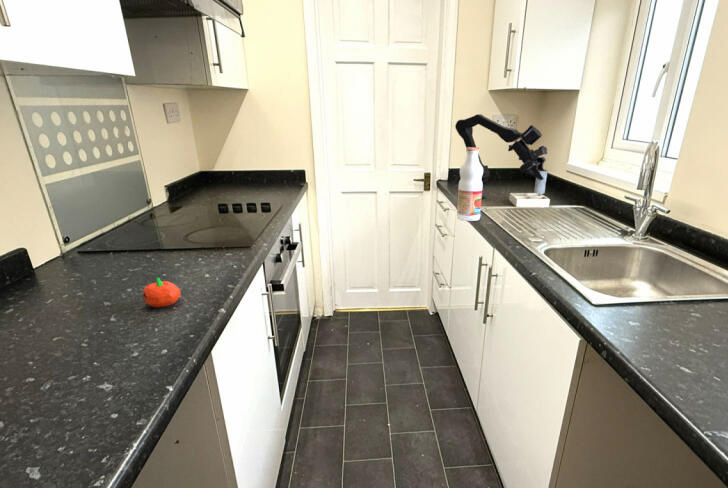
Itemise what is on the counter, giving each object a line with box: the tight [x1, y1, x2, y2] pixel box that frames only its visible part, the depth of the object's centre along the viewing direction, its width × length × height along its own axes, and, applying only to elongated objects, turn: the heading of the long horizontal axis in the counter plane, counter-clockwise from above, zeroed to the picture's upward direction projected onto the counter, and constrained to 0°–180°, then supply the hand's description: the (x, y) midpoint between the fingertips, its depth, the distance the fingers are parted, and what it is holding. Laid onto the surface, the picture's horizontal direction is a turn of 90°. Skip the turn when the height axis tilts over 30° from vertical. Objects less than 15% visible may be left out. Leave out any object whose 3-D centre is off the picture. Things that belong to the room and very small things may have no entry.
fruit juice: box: [456, 146, 483, 222], centre depth 163 cm, size 9×9×28 cm
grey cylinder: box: [533, 169, 548, 195], centre depth 188 cm, size 4×4×10 cm
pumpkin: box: [142, 277, 182, 308], centre depth 93 cm, size 7×8×6 cm
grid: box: [508, 192, 551, 208], centre depth 195 cm, size 15×15×4 cm
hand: (544, 179), depth 187 cm, fingers closed on grey cylinder, 4 cm apart
